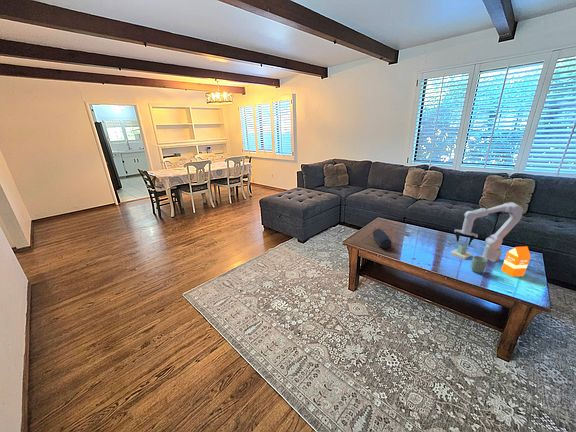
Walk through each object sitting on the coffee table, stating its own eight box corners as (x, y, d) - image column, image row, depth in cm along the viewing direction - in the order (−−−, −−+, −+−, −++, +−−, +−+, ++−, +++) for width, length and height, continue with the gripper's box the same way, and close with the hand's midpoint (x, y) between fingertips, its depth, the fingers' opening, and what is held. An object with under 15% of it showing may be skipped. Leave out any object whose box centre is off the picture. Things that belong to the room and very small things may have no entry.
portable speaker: (392, 249, 196) (393, 239, 193) (379, 249, 196) (381, 239, 193) (382, 237, 220) (383, 227, 216) (371, 237, 220) (372, 227, 217)
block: (465, 253, 183) (467, 246, 181) (460, 254, 183) (462, 247, 181) (461, 251, 187) (462, 244, 185) (456, 251, 186) (458, 244, 184)
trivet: (470, 256, 184) (471, 253, 183) (463, 260, 179) (464, 256, 179) (457, 251, 192) (457, 248, 191) (450, 254, 188) (450, 251, 187)
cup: (470, 267, 169) (473, 254, 166) (484, 270, 164) (487, 258, 161) (469, 271, 164) (472, 259, 160) (483, 275, 159) (487, 262, 155)
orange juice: (500, 270, 165) (509, 244, 158) (512, 269, 165) (521, 243, 158) (511, 276, 157) (521, 249, 151) (524, 275, 158) (533, 249, 151)
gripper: (480, 228, 176) (476, 244, 180) (457, 222, 186) (454, 238, 191) (478, 230, 172) (473, 247, 176) (454, 225, 182) (451, 241, 187)
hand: (463, 242), depth 183 cm, fingers open, 7 cm apart
